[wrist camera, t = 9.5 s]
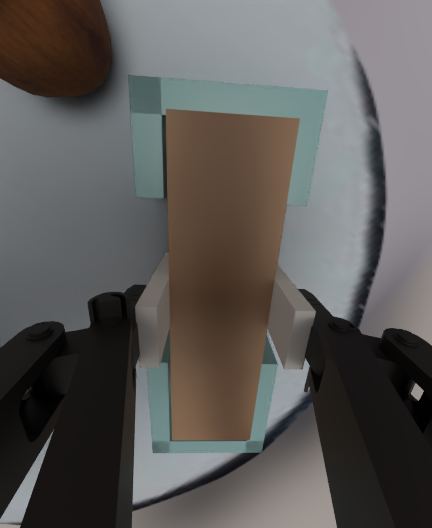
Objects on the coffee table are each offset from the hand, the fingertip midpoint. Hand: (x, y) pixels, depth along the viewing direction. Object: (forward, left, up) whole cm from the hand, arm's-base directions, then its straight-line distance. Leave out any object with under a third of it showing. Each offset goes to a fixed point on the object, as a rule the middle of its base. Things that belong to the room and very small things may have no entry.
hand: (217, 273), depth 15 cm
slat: (0, -1, -2) cm, 3 cm away
